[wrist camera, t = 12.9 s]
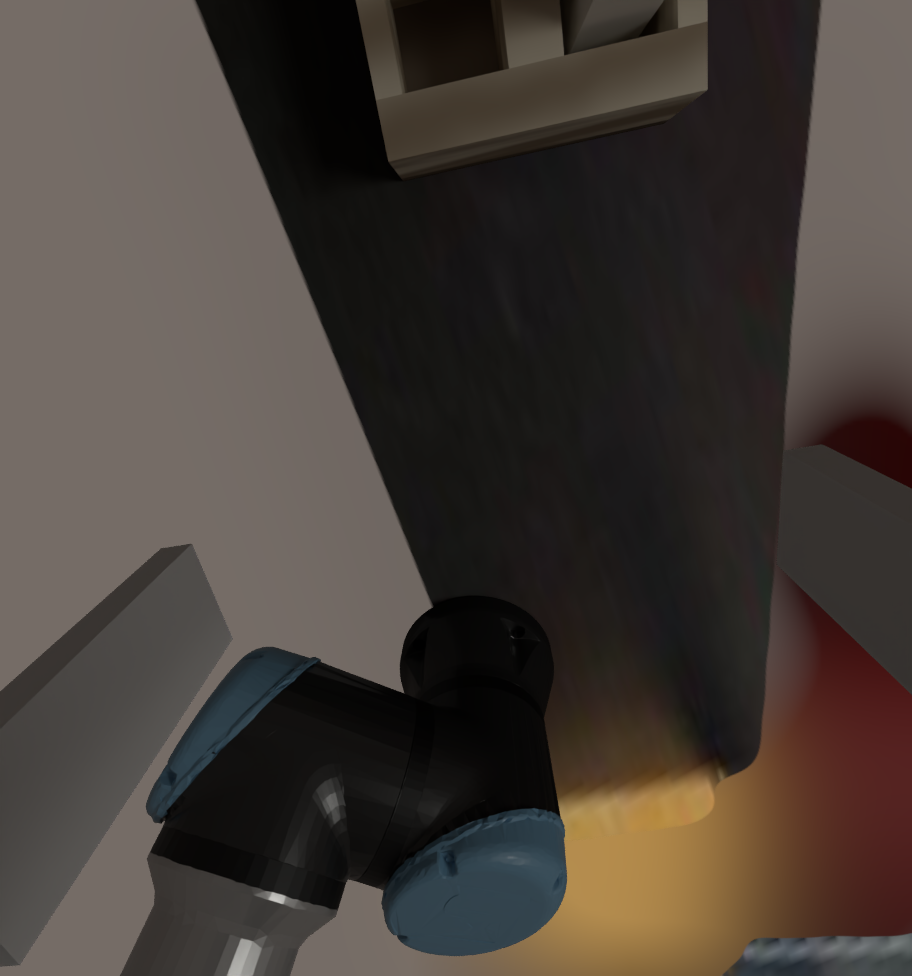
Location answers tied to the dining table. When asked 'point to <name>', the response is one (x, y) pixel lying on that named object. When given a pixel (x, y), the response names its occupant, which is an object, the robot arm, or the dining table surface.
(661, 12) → the socket board
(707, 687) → the dining table surface
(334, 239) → the dining table surface
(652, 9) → the plug
